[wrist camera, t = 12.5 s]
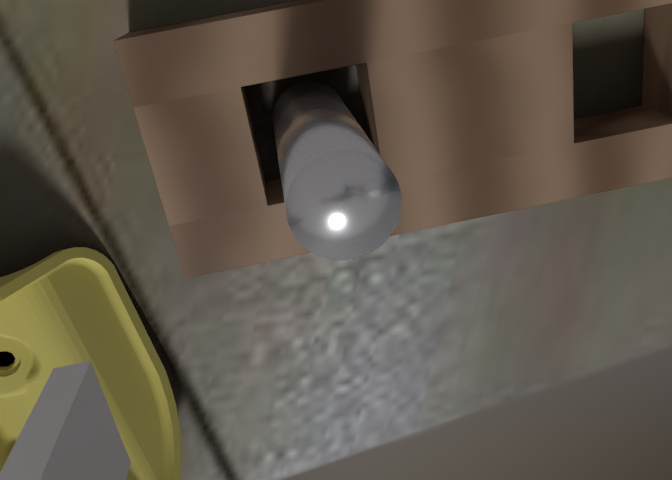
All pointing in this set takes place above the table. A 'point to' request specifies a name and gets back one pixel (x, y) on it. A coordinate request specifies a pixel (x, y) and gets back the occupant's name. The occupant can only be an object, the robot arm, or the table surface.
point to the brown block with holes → (391, 111)
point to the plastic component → (86, 355)
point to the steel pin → (332, 175)
